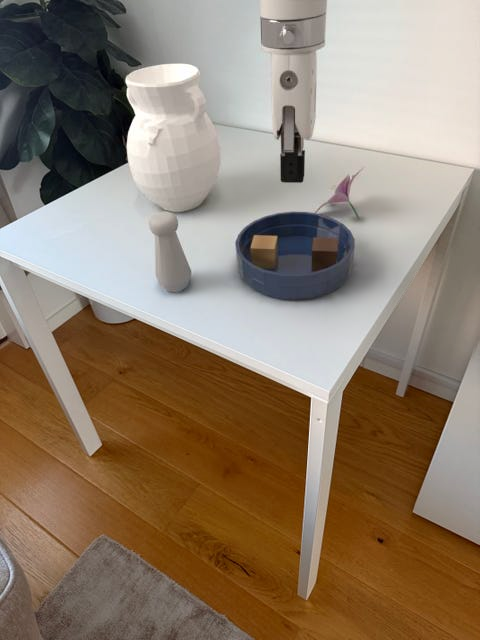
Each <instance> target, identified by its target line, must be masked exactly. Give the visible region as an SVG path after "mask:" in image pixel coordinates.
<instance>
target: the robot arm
mask: <svg viewBox="0 0 480 640" xmlns="http://www.w3.org/2000/svg"><path fill="white" fill-rule="evenodd" d="M327 5H328V0H259V15H260V43H261V45H260V47H261V48H260V49H261V51H263V52H265V53H267V54H270V91H271V92H270V94H271V96H270V99H271V100H270V101H271V121H272V136H273V137H274V139H275V140H277V141H279V139H280V155H279V158H280V159H279V161H280V162H279V163H280V166H279V167H280V171H279V172H280V182H281V183H284V184H285V183H286V184H287V183H288V184H289V183H290V184H291V183H292V184H293V183H295V184H296V183H298V184H302V183H303V182H304V180H305V179H304V178H305V169H306V168H305V164H306V161H305V159H306V150H305V149H304V145H305V144H304V143H305V139H306V141H310V139H312V137H313V135H314V130H315V124H316V119H317V73H318V72H317V71H318V70H317V69H318V67H317V58H318V57H317V51H318V50H321V49H322V48H325V46H326V29H327V27H326V26H327V24H326V23H327V11H328V10H327V9H328V6H327Z"/></svg>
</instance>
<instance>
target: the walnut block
mask: <svg viewBox="0 0 480 640" xmlns="http://www.w3.org/2000/svg"><path fill="white" fill-rule="evenodd" d="M337 251H338V238H321V237H314V238H313V246H312V265H311V271H319V270H323V269H326V268H329V267H331V266H333V265H335V264H337Z"/></svg>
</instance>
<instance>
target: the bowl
mask: <svg viewBox="0 0 480 640" xmlns="http://www.w3.org/2000/svg"><path fill="white" fill-rule="evenodd" d="M254 235H264V236H278V258H277V262H276V267H275V269H264V268H260V267H257V266H255V265H253V264H252V263H251V251H250V248H251V244H252V241H253V237H254ZM314 237H321V238H338V251H337V264H335V265H333V266H331V267H329V268H326V269H323V270H319V271H311V265H312V246H313V238H314ZM355 240H356V239H355V236H354V235H353V233H352V231H351V230H350V229H349V228H348V227H347V226H346V225H345V224H344V223H343V222H340V221H339V220H337V219H336V218H333V217H331V216H327V215H324V214H321V213H317V212H316V213H315V212H309V211H286V212H285V211H283V212H277V213H272V214H268V215H265V216H263V217H260V218H258V219H256V220H254V221H251V222H250V223H249V224H247V225H246V226H245V227H243V229H241V231H239V233H238V234H237V237H236V239H235V255H236V266H237V273H238V275H239V277H240V278H241V280H242V282H243V283H245V284H246V286H248V287H250V288H251V289H253V290H254V291H255V292H257V293H260V294H261V295H264V296H267V297H269V298H273V299H279V300H286V301H299V300H300V301H301V300H303V301H304V300H310V299H315V298H319V297H322V296H325V295H327V294H329V293H331V292H333V291H335V290H336V289H338V288H340V287H341V286H342V285H343V284H344V283H345V282H346V281H347V280H348V279H349V277H350V276H351V273H352V271H353V267H354V258H355V257H354V256H355V249H356V248H355V243H356V242H355Z"/></svg>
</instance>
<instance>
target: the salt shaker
mask: <svg viewBox="0 0 480 640" xmlns="http://www.w3.org/2000/svg"><path fill="white" fill-rule="evenodd" d="M148 227H149V229H150V231H151V233H152V234H153V235H154V254H155V255H154V259H155V261H154V262H155V263H154V264H155V266H154V267H155V277H156V280H157V282H158V284H160V286H161V287H162V288H163V289H165V290H166V292H168V293H181V292H182V291H184V290H185V289H187V288H188V286H189V283H190V280H191V276H192V268H191V266H190V264H189V262H188V259H187V257H186V254H185V252H184V250H183V246H182V244H181V241H180V239H179V236H178V234H177V230H178V228H179V220H178V218H177V215H176V214H175V213H174V212H172V211H167V210H165V211H158V212H156V213H153V214H152V215H151V216H150V218H149V219H148Z"/></svg>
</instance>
